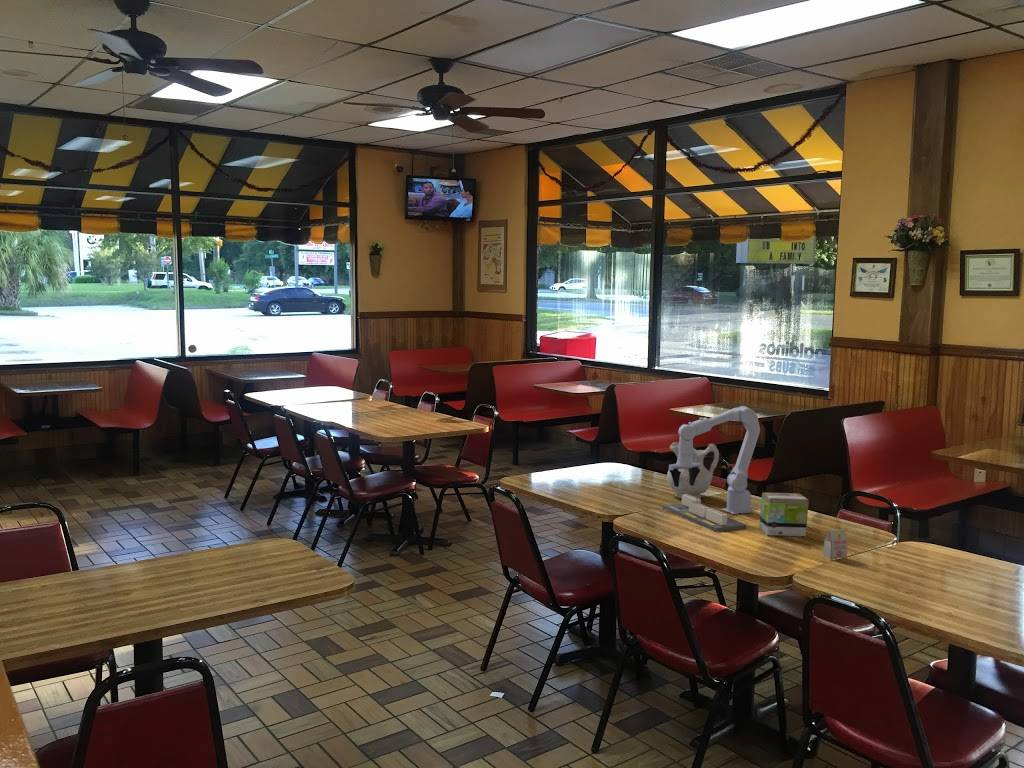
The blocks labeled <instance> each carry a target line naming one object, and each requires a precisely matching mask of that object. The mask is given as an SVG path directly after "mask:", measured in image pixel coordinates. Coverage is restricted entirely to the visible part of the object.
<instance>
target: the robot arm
mask: <svg viewBox="0 0 1024 768" xmlns="http://www.w3.org/2000/svg"><path fill="white" fill-rule="evenodd" d="M729 421H734V422H741V424H743V426H744V428H745V430H746V432H745V435H744V439H743V441H742V444H741V447H740V450H739V454H738V456H737V458H736V459H737V460H736V463H735V466H734V467H733V468H732V470H731V472H730V473H729V474H728V476H727V478H726V482H727V484H728V488H727V491H726V493H727V494H726V495H727V496H726V507H725V508H724V507H723V508H722V509H721V511H725V512H727V513H729V512H730V513H729V514H733V515H739V513H741V514H749V513H752V512H753V511H752V510H751V509H752V508H751V507H752V494H751V492H750V491H749V490H748V489H747V487H748V477H749V475H748V470H749V466H750V464H751V460H752V457H753V454H754V451H755V448H756V444H757V442H758V438H759V435H760V434H761V427H760V423H759V416H758V415H757V413H756V412H755V411H754V409H752V408H749V407H748V406H746V405H739V406H738V407H734V408H733V407H732V408H731V409H729V410H726V411H725V412H722V413H720V414H717V415H715V416H712V417H711V418H708V417H703V416H701V417H699V419H697V420H695V421H692V422H691V421H689V422H688V424H686V423H683V424H682V425H681V426H680V427H679V428H678V430H677V434H678V435H679V442H678V443H679V454H678V463H677V462H676V463H673V464H672V463H671V464H668V470H669V471H670V473H671V475H672V478H673V482H674V486H675V487H678V486H679V478H680V474H681V472H680V471H679V470H678V469H688V470H689V484H690V485H692V486H694V483H695V480H696V477H697V475H698V473H699V472H700V469H698V468H701V463H692V453H693V448H694V442H693V440H694V438H695V436H699V435H702V434H705V433H707V432H710V431H711V430H712V428H713V427H714V426H717V425H720V424H723V423H726V422H729Z"/></svg>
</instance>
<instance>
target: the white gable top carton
mask: <svg viewBox="0 0 1024 768" xmlns="http://www.w3.org/2000/svg"><path fill="white" fill-rule="evenodd" d="M846 533H847V532H846V529H843V528H842V529H830V530H827V534H826V536H825V538H824V541H823V553H822V555H823V556H824V557H827V558H829V559H837V558H844V557H847V555H848V544H849V543H848V542H849V541H848V538H847V534H846ZM823 556H822V557H823ZM824 557H823V558H824ZM847 558H848V557H847Z"/></svg>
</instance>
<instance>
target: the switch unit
mask: <svg viewBox="0 0 1024 768" xmlns="http://www.w3.org/2000/svg"><path fill="white" fill-rule="evenodd" d="M664 509H666V510H668V511H670V512H669V513H671V512H672V514H673V513H674V514H673V515H675V514H677V515H676V516H678V515H679V516H678V517H680V516H681V518H682V517H683V518H682V519H685V518H686V519H685V520H687V519H688V520H687V521H689V520H690V522H691V523H694V522H695V523H694V524H696V523H697V524H696V525H698V524H699V526H701V525H702V526H701V527H703V526H704V527H703V528H705V527H706V528H705V529H708V528H709V530H710V529H711V530H710V531H712V530H713V531H712V532H715V533H718V532H717V531H719V532H726V531H725V530H728V531H734V529H737V530H745V529H744V528H746V529H747V524H745V523H743V522H740V521H737V520H735V519H734V518H731V517H728V516H727V525H719V524H717V523H714V522H712V521H710V520H707V519H706V518H703V517H700V516H698V515H695V514H693V513H691V512H689V507H687V506H685V505H683V504H682V503H676V504H665V505H663V504H662V510H664ZM666 510H665V511H666ZM668 511H667V512H668Z"/></svg>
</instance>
